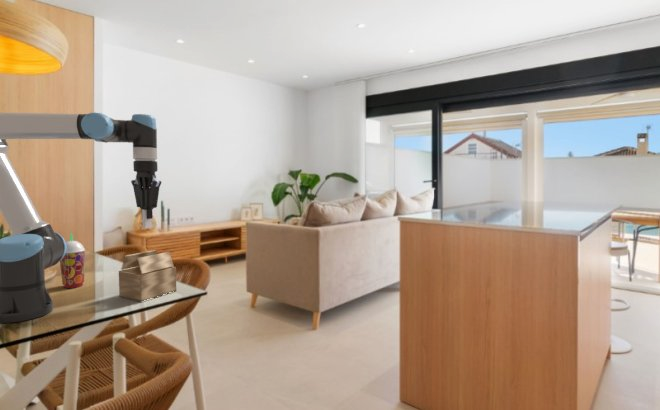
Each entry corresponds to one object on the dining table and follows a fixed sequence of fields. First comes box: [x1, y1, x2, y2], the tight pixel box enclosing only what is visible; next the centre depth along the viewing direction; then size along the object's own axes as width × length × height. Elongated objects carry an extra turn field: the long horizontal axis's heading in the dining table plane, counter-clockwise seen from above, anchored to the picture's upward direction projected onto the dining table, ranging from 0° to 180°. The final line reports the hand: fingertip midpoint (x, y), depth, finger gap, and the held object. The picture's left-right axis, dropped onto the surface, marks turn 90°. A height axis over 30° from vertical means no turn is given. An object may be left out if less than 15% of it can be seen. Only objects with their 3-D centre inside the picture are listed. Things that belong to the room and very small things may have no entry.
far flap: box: [120, 249, 158, 271], centre depth 141 cm, size 13×1×6 cm, turn 152°
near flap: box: [137, 251, 175, 274], centre depth 136 cm, size 13×1×6 cm, turn 152°
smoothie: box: [59, 233, 86, 289], centre depth 147 cm, size 8×8×20 cm
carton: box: [118, 266, 177, 302], centre depth 139 cm, size 14×12×9 cm
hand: (147, 227), depth 138 cm, fingers closed
